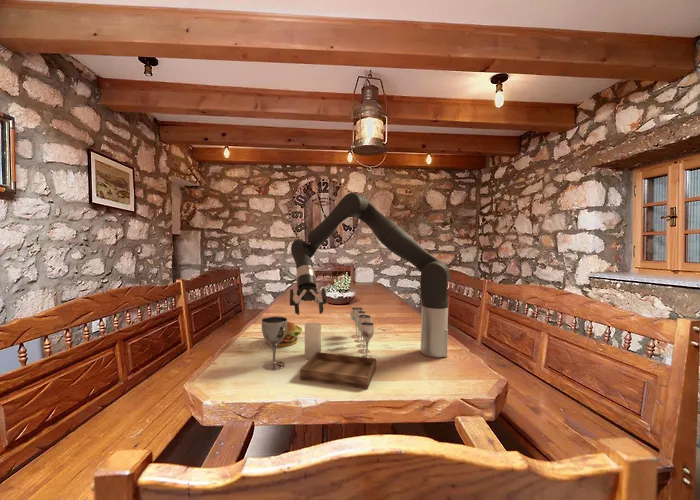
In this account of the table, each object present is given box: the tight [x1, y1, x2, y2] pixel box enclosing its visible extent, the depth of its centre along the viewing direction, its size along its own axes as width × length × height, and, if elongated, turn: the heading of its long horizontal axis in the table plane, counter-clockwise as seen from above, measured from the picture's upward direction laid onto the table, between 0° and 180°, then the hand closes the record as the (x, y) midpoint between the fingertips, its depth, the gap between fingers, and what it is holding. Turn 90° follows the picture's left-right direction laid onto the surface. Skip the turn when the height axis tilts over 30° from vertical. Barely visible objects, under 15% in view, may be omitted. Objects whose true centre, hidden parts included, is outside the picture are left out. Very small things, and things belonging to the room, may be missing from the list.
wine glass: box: [261, 315, 288, 371], centre depth 99 cm, size 8×8×15 cm
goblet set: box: [349, 306, 375, 358], centre depth 118 cm, size 28×6×13 cm, turn 8°
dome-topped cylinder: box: [304, 322, 322, 360], centre depth 108 cm, size 6×6×11 cm
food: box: [267, 320, 303, 348], centre depth 121 cm, size 14×14×8 cm
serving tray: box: [299, 351, 377, 390], centre depth 94 cm, size 20×14×3 cm
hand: (309, 313), depth 116 cm, fingers open, 8 cm apart
